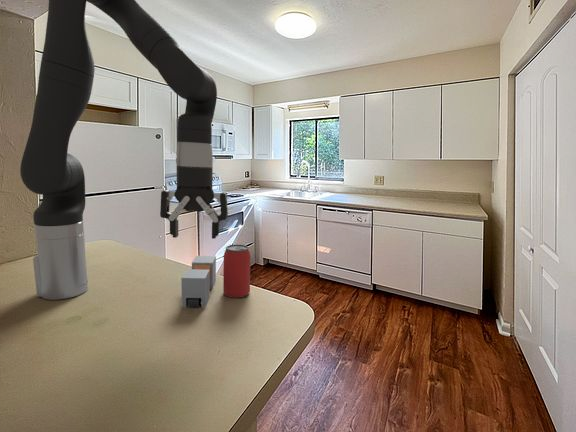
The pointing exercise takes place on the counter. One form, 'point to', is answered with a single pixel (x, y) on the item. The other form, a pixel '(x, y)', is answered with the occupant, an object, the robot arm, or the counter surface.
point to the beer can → (236, 271)
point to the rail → (194, 302)
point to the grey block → (196, 286)
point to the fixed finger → (206, 266)
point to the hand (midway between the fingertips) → (194, 237)
